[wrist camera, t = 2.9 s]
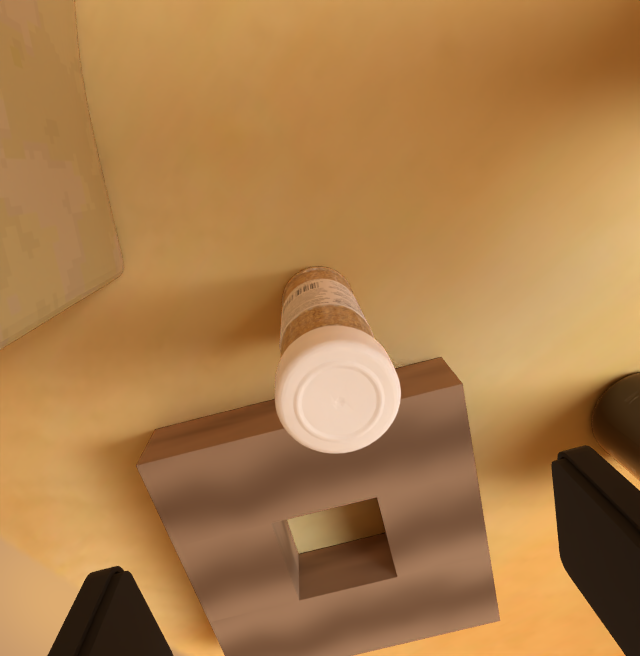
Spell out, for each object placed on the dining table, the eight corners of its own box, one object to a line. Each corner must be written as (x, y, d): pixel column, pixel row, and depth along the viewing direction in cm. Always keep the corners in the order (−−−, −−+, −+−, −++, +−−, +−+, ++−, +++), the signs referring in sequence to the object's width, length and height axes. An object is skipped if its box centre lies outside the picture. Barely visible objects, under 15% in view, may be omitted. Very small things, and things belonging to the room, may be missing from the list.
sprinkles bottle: (298, 343, 29) (302, 475, 17) (270, 280, 28) (251, 371, 15) (364, 318, 29) (419, 433, 16) (339, 252, 28) (379, 322, 15)
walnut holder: (155, 429, 31) (136, 465, 27) (441, 357, 30) (462, 383, 26) (243, 630, 37) (237, 682, 34) (478, 574, 37) (500, 620, 33)
